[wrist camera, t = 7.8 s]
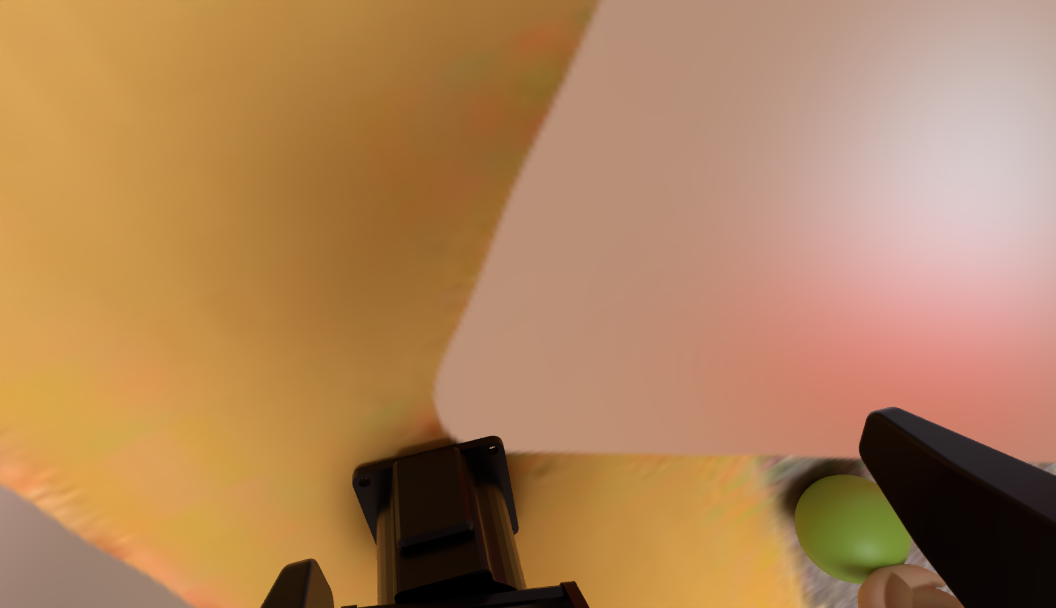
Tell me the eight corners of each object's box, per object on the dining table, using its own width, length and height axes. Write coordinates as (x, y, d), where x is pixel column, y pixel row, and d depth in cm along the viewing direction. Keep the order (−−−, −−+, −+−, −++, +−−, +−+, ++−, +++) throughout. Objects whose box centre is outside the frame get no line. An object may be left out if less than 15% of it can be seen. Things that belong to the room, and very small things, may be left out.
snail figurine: (774, 461, 31) (963, 702, 22) (875, 448, 33) (1095, 668, 23) (748, 528, 34) (904, 770, 24) (842, 513, 36) (1025, 736, 26)
